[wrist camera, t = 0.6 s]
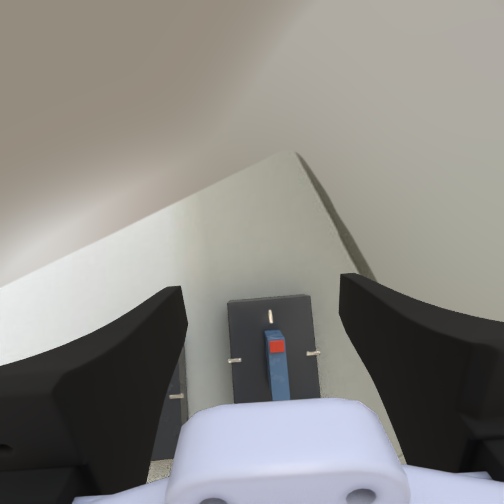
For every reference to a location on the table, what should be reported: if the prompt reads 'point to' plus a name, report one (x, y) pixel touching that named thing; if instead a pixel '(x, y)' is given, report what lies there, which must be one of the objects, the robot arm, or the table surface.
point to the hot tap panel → (172, 414)
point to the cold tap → (277, 365)
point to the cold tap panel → (254, 349)
